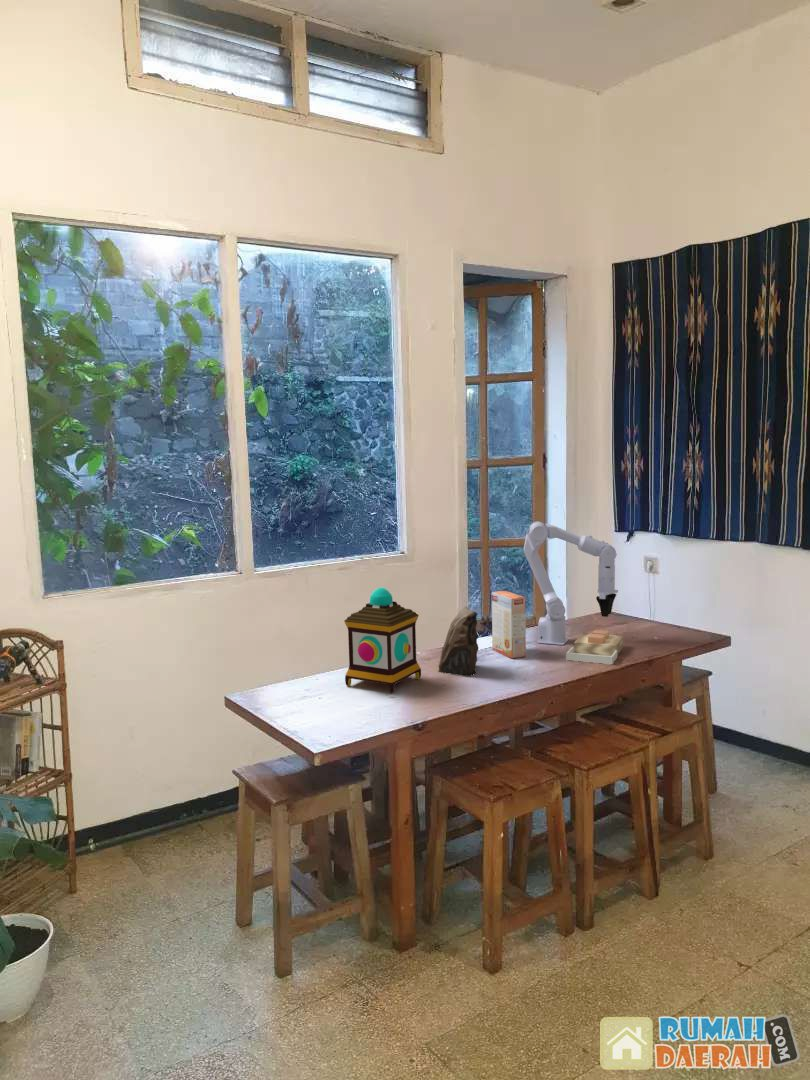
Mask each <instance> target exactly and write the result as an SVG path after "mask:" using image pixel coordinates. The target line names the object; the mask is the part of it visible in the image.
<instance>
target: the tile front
mask: <svg viewBox="0 0 810 1080" xmlns="http://www.w3.org/2000/svg"><path fill="white" fill-rule="evenodd" d="M605 641H606V635H603V634H590V635H589V637H588V643H597V644H603V643H604V642H605Z"/></svg>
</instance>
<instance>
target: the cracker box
mask: <svg viewBox="0 0 810 1080" xmlns="http://www.w3.org/2000/svg"><path fill="white" fill-rule="evenodd" d="M526 600H527V599H526V596H522V595H520V594H517V593H513V592H510V591H508V590H499V591H498V590H497V591H492V593H491V608H492V609H491V610H492V611H491V612H492V613H491V614H492V615H491V616H492V617H491V618H492V619H491V621H492V623H491V624H492V626H491V629H492V631H491V633H492V650H493V649H494V650H493V651H495V650H496V652H497V651H498V653H499V654H502V655H503V656H505V657H508V658H510V659H517V658H518V659H519V658H525V657H526V655H527V654H526V653H527V649H526V646H527V644H526V642H527V641H526V639H527V637H526V636H527V635H526V634H527V633H526V630H527V626H526V624H527V623H526V619H527V618H526V614H527V613H526V612H527V611H526V609H527V608H526V607H527V605H526V603H527V602H526Z"/></svg>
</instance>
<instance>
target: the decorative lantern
mask: <svg viewBox="0 0 810 1080" xmlns="http://www.w3.org/2000/svg"><path fill="white" fill-rule="evenodd" d="M419 617H420V616H419V614H418V613H417V612H416V611H413V609H410V608H405V607H403V606H402V605H400V604H398V602H397V601H394V600H393V595H392V594H391V593H390V591H389V590H387V589H386V588H384V587H378V588H376V589H375V590H374V591H373V592H371V594H370V596H369V602H368V603H365V606H363V607H362V608H361V609H359V610H358V611H356V612H352V613H351V614H350V616H347V618H346V619H344V624H345V626H346V628H347V632H348V637H347V638H348V639H347V640H348V661H349V663H348V664H349V666H348V669H347V671H346V673H345V676H344V681H345V686H346V687H350V686H351V685H352V680H358V681H362V682H363V681H364V682H370V683H376V684H377V683H378V684H383V685H386V686H387V687H388V690H389V691H388V692H389V694H394V692H395V685H396V684H397V683H400V682H401V681H403V680H405V679H407V678H409V677H411V676H412V675H415V679H416V680H420V679H421V676H422V669H421V667H420V664H419V662H418V661H417V645H416V644H417V637H416V636H417V634H416V625H417V621H418V618H419Z"/></svg>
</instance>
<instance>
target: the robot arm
mask: <svg viewBox="0 0 810 1080" xmlns="http://www.w3.org/2000/svg"><path fill="white" fill-rule="evenodd" d="M547 539H548V540H553V539H559V540H562V541H565V542H567V543H570V544H573V545H576V547H577V549H578V550H579V551H581V552H583V553H586V554H589V555H590V556H593V557H599V558H598V564H597V565H598V567H597V568H598V569H597V570H598V571H597V572H598V575H597V576H598V578H597V579H598V580H597V585H598V586H597V593H598V594H599V595H597V596H596V601H597V603H598V606H599V610H600V614H601V616H602V617H605V618H608V617H609V615H611V614H612V611H613V606H614V602H615V599H616V597H617V594H618V593H619V589H616V587H615V585H616V584H615V583H616V565H615V564H616V563H615V562H616V560H615V559H616V557H617V555H618V554H617V551H616V548H615V547H614V546H613V545H612V544H609V543H608V542H605V541H604V540H599V539H596V538H593V535H590V534H588V535H587V534H586V535H582V536H578V535H576V534H575V533H572V532H569V531H567V530H565V529H563V528H560V527H558V526H555V525H553V524H549V523H544V522H542V521H534V522H532V523H531V524H530V525H529V527H528V529H527V530H526V534H525V540H524V545H523V552H524V555H525V557H526V559H527V562H528V564H529V566H530V569H531V571H532V573H533V575H534V578H535V580H536V583H537V585H538V587H539V589H540V591H541V593H542V596H543V599H544V601H545V609H546V615H545V616H540V617H539V620H538V624H537V626H538V628H537V629H538V631H537V634H538V635H537V637H538V641H537V643H538V644H546V645H547V644H548V645H558V646H559V645H560V646H564V645H565V644H567V642H569V639H570V638H566V615H565V614H566V608H565V605H564V602H563V600H562V599H560V598H559V597H558V596H557V594H556V591H555V588H554V587H553V584H552V581H551V579H550V577H549V575H548V573H547V571H546V568H545V566H544V563H543V562H542V558H541V557H540V554H539V552H538V551H539V549H540V547H541V546H542V544H543V543H544V542H545V541H546V540H547Z"/></svg>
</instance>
